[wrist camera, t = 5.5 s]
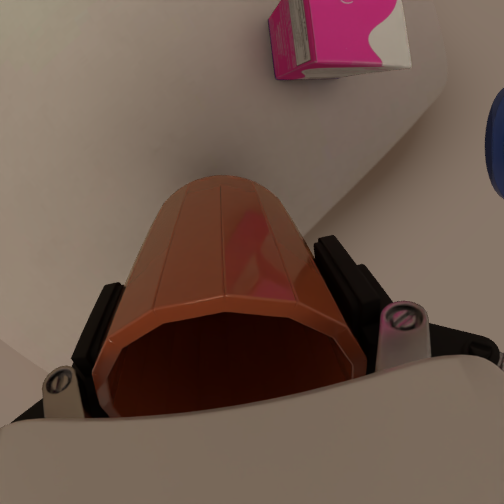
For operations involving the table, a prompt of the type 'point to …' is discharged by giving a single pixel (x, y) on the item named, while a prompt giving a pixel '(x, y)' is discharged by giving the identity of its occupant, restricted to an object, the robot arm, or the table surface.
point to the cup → (222, 309)
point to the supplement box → (337, 38)
